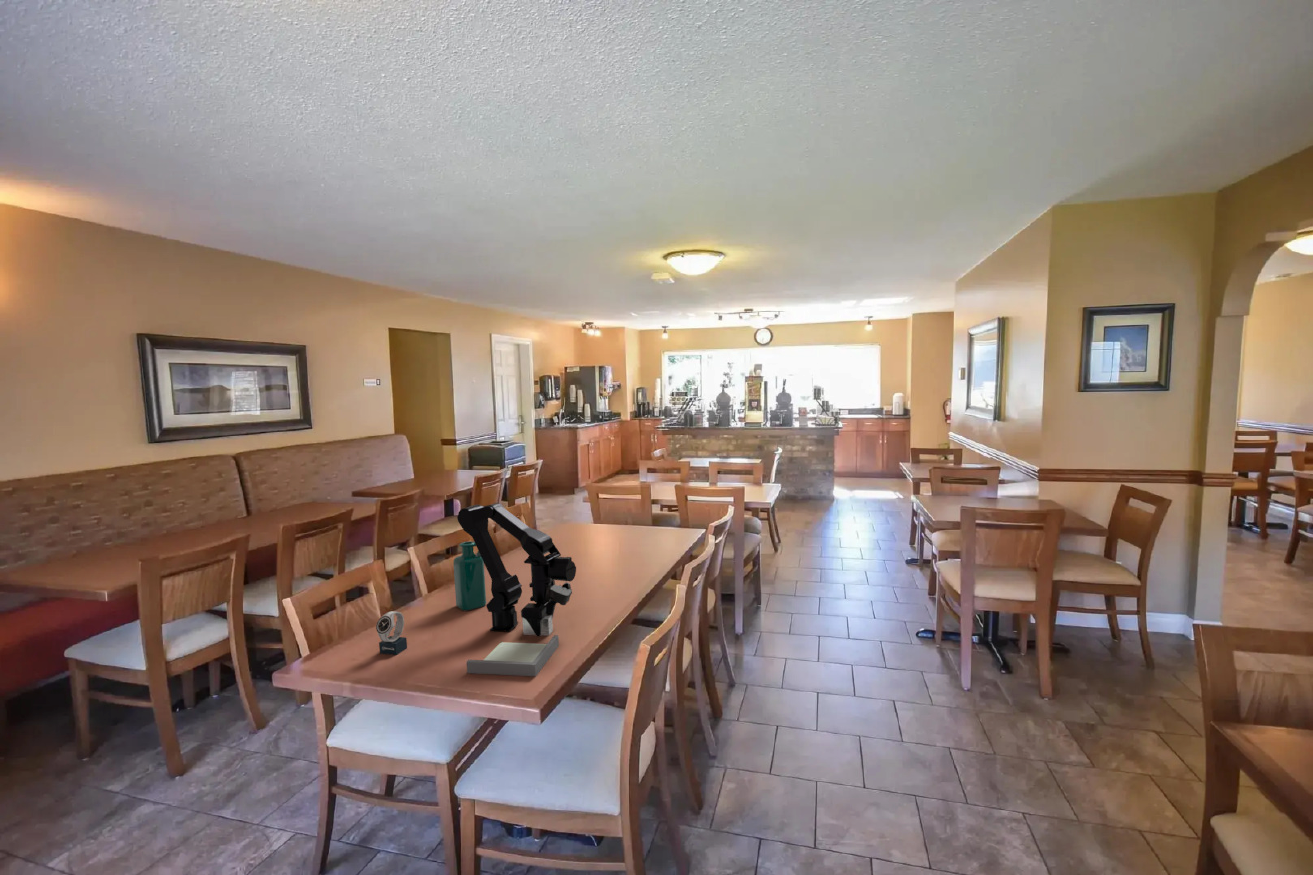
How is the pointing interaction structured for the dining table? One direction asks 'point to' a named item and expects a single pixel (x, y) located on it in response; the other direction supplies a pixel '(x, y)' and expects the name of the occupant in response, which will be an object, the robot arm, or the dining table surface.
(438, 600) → the dining table surface
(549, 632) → the bracket
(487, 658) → the mat
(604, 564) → the dining table surface
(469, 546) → the green bottle
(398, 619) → the watch
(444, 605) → the dining table surface
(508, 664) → the corner walls
